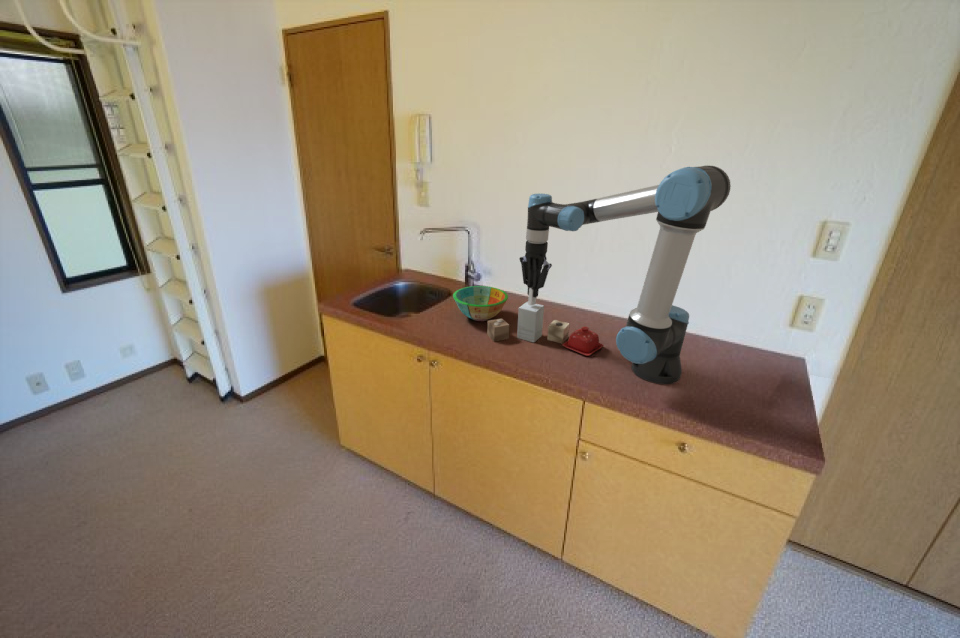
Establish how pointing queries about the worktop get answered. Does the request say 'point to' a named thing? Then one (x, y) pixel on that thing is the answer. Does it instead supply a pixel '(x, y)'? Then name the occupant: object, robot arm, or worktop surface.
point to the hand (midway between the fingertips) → (531, 304)
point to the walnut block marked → (498, 329)
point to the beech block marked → (558, 331)
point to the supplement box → (530, 322)
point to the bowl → (480, 301)
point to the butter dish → (583, 341)
